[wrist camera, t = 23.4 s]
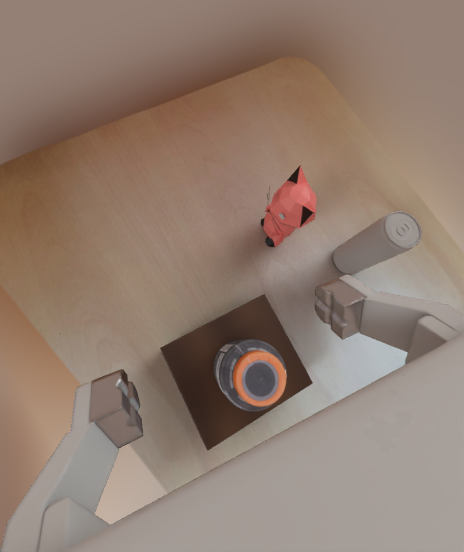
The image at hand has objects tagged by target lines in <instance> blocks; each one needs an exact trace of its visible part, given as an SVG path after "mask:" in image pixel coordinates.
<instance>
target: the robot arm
mask: <svg viewBox="0 0 464 552" xmlns="http://www.w3.org/2000/svg"><path fill="white" fill-rule="evenodd" d="M315 295H316V296H317V297H318V298H317V300H316V302H315V310H316V312H317V315H318V316H319V318H320V319H321V320H322V321H323V322H324V323H327V324H330V325H331V330H332V331H333V332H335V333H336V334H337V335H338V336H339V337H340V338H341V339H342V340H343V339H345V338H347V337H350V336H352V335H354V334H356V333H358V332H360V333H361V334H363V335H366V336H368V337H371V338H373V339H376V340H378V341H381V342H383V343H386V344H388V345H391V346H394V347H396V348H399V349H401V350H404V351H406V352H408V354H407V357H406V360H405V365H404V366H402V367H400V368H399V369H397V370H395V371H393V372H391V373H389V374H387V375H386V376H384V377H382V378H380V379H378V380H376V381H375V382H373V383H371V384H369V385H367V386H365V387H364V388H362V389H360V390H358V391H356V392H354V393H352V394H351V395H349V396H347V397H345V398H343V399H341V400H340V401H338V402H336V403H334V404H332V405H330V406H328V407H327V408H325V409H323V410H321V411H319V412H317V413H316V414H314V415H312V416H310V417H308V418H306V419H305V420H303V421H301V422H299V423H297V424H295V425H293V426H292V427H290V428H288V429H286V430H284V431H282V432H281V433H279V434H277V435H275V436H273V437H271V438H270V439H268V440H266V441H264V442H262V443H260V444H259V445H257V446H255V447H253V448H251V449H249V450H248V451H246V452H244V453H242V454H240V455H238V456H236V457H235V458H233V459H231V460H229V461H227V462H225V463H224V464H222V465H220V466H218V467H216V468H214V469H213V470H211V471H209V472H207V473H205V474H203V475H202V476H200V477H198V478H196V479H194V480H192V481H190V482H189V483H187V484H185V485H183V486H181V487H179V488H178V489H176V490H174V491H172V492H170V493H168V494H167V495H165V496H163V497H161V498H159V499H158V500H156V501H154V502H152V503H150V504H148V505H146V506H144V507H143V508H141V509H139V510H137V511H135V512H133V513H132V514H130V515H128V516H126V517H124V518H122V519H121V520H119V521H117V522H115V523H113V524H111V525H109V524H108V523H107V522H105V521H104V520H102V519H101V518H99V517H98V516H96V515H95V514H94V513H95V511H96V508H97V506H98V503H99V501H100V498H101V495H102V493H103V490H104V488H105V485H106V483H107V480H108V478H109V475H110V472H111V470H112V467H113V465H114V462H115V460H116V457H117V454H118V452H119V448H121V447H122V446H125V445H127V444H128V443H130V442H132V441H134V440H136V439H138V438H140V437H142V436H143V428H142V419H141V417H140V415H139V414H138V410H139V408H140V402H139V397H138V394H137V391H136V388H135V386H134V385H133V383H132V382H129V381H128V377H127V374H126V372H125V371H124V370H123V369H121V370H118V371H116V372H113V373H111V374H108V375H105V376H103V377H100V378H98V379H95V380H93V381H91V382H88V383H86V384H83V385H81V386H78V388H77V389H76V392H75V399H74V408H73V416H72V424H71V432H69V433H67V434H66V435H65V436H64V438H63V439H62V441H61V442H60V444H59V445H58V447H57V448H56V450H55V451H54V453H53V454H52V456H51V457H50V459H49V460H48V462H47V463H46V465H45V466H44V468H43V469H42V471H41V473H40V474H39V476H38V477H37V479H36V480H35V482H34V483H33V485H32V486H31V488H30V489H29V491H28V492H27V494H26V495H25V497H24V498H23V500H22V501H21V503H20V504H19V506H18V508H17V509H16V511H15V512H14V514H13V515H12V517H11V518H10V520H9V521H8V523H7V524H6V528H5V532H4V536H3V540H2V544H1V548H0V552H464V314H463V313H461V312H459V311H458V310H456V309H454V308H452V307H450V306H448V305H447V304H441V303H436V302H431V301H426V300H421V299H416V298H411V297H405V296H400V295H395V294H390V293H385V292H379V293H377V292H375V291H374V290H372V289H371V288H369V287H368V286H366V285H365V284H363V283H362V282H360V281H358V280H357V279H355V278H354V277H352V276H351V275H347V274H346V275H344V276H341V277H339V278H337V279H334V280H332V281H330V282H327V283H325V284H323V285H321V286H318V287H316V289H315Z"/></svg>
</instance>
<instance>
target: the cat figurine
mask: <svg viewBox="0 0 464 552" xmlns="http://www.w3.org/2000/svg"><path fill="white" fill-rule="evenodd" d="M269 189H270V188H269ZM267 198H268V195H267ZM265 212H267V214H266V216H265V218H263V219H261V225H262V226H263V228H264V230H265V232H266V233H267V235H268V237H267V239H266V241H265V242H266V244H267V246H269V247H276V246H277V245H279V244H280V243H281V242H282V241H283V239H284V238H285V237H287V236H289V235H290V234H291V233H292V232H293V231H294V228H300V227H302V226H304V225H305V224H307V223H309V222H311V221H312V220H314V219H315V212H316V195H315V194H314V192H313V191H312V189H311V188H310V186H309V184H308V183H307V181H306V178H305V176H304V173H303V171H302V168H301V166H299V167H298V168H297V170H296V171H295V172H294V173H293V174H292V175H291V177H290V178H289V179H288V180H287V181H286V182H285V183H284V184H283V185H282V186H281V187H280V188H279V189H278V190H277V191H276V192H275V193H274V196H273V199H272V203H271V205H268V206H267V208H266V211H265Z"/></svg>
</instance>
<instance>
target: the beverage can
mask: <svg viewBox="0 0 464 552" xmlns="http://www.w3.org/2000/svg"><path fill="white" fill-rule="evenodd" d="M421 237H422V231H421V227H420V224H419V222H418V221H417V220H416V218H414V217H413V216H412V215H411V214H409V213H407V212H404V211H395V212H393V213H390V214H388V215H386V216H384V217H382V218H381V219H379V220H378V221H376V222H375V223H373V224H372V225H370V226H369V227H367V228H366V229H364V230H363V231H361V232H360V233H358V234H357V235H355V236H354V237H352V238H351V239H349V240H348V241H346V242H345V243H343V244H342V245H340V246H339V247H338V248H337V249H336V250H335V252H334V256H333V258H334V263H335V265H336V267H337V268H338V269H339V270H340V271H342V272H343V273H346V274H354V273H357V272H359V271H362V270H364V269H366V268H369V267H371V266H373V265H376V264H378V263H380V262H383V261H385V260H387V259H390V258H392V257H394V256H397V255H399V254H401V253H404V252H406V251H408V250H410V249H412V248H413V247H414V246H416V245H417V244H418V243H419V242H420V240H421Z"/></svg>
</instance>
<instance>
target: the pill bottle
mask: <svg viewBox="0 0 464 552" xmlns="http://www.w3.org/2000/svg"><path fill="white" fill-rule="evenodd" d="M213 368H214V375H215V378H216V380H217V382H218V384H219V386H220V388H221V390H222V392H223V393H224V394H225V396H226V397H227V399H228V400H229V401H230V402H231V403H232V404H234V405H235V406H236V407H238V408H240V409H242V410H245V411H253V412H254V411H261V410H265V409H267V408H269V407H270V406H272V405H273V404H274V403H276V402H277V400H278V399H279V398H280V397H281V395H282V394H283V392H284V389H285V386H286V367H285V364H284V361H283V359H282V357H281V355H280V354H279V352H278V351H277V350H276V349H275V348H274V347H273V346H271V345H270V344H268V343H266V342H264V341H261V340H256V339H247V340H236V341H231V342H229V343H227V344H225V345H224V346H223V347H222V348H221V349H220V350H219V351H218V353H217V354H216V357H215V359H214V367H213Z"/></svg>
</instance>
